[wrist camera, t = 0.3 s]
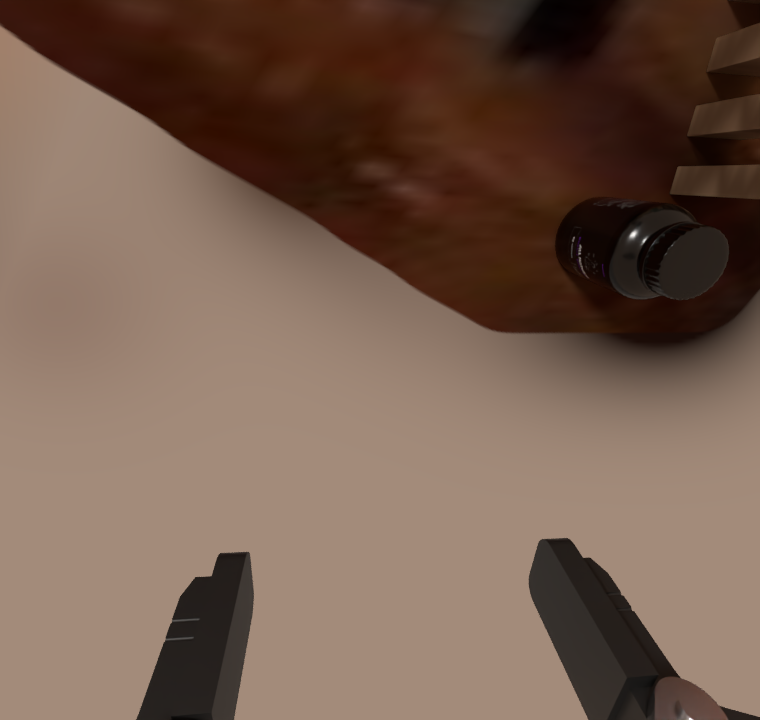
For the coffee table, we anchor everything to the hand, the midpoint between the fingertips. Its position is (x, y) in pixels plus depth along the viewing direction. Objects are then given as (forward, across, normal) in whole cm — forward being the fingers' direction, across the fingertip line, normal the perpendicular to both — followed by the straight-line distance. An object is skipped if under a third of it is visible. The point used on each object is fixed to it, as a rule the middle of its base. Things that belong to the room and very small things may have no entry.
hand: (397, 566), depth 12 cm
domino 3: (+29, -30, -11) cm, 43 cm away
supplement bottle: (+29, -21, -6) cm, 36 cm away
